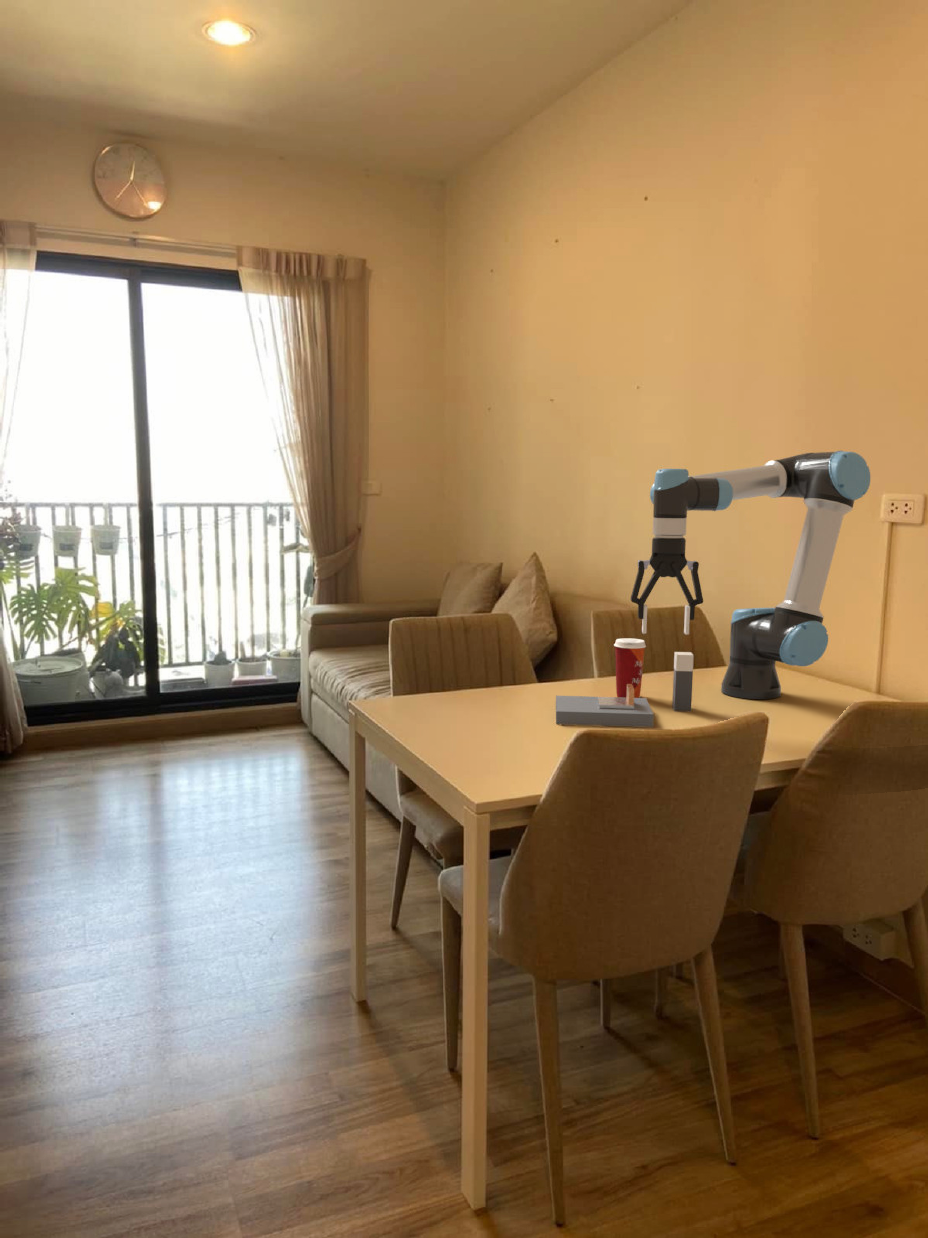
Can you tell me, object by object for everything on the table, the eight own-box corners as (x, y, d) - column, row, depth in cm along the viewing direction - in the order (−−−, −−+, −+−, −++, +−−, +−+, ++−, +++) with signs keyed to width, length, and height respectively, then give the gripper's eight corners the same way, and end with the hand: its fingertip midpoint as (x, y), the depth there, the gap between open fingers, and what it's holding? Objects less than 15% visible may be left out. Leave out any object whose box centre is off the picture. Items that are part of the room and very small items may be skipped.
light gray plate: (630, 701, 215) (631, 683, 214) (634, 709, 207) (634, 690, 207) (597, 700, 216) (598, 682, 215) (599, 708, 208) (599, 689, 207)
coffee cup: (644, 701, 228) (646, 643, 226) (611, 699, 230) (613, 642, 228) (644, 694, 236) (646, 638, 234) (612, 692, 238) (614, 637, 236)
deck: (645, 710, 219) (645, 698, 219) (653, 727, 203) (653, 714, 203) (555, 707, 221) (555, 695, 221) (556, 723, 205) (556, 711, 205)
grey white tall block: (688, 707, 222) (691, 652, 220) (691, 711, 218) (693, 655, 216) (672, 707, 222) (674, 651, 220) (674, 710, 218) (676, 654, 216)
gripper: (714, 536, 207) (709, 631, 211) (620, 535, 209) (616, 629, 213) (720, 538, 200) (715, 636, 203) (622, 536, 202) (619, 634, 205)
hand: (665, 633), depth 208 cm, fingers open, 9 cm apart
